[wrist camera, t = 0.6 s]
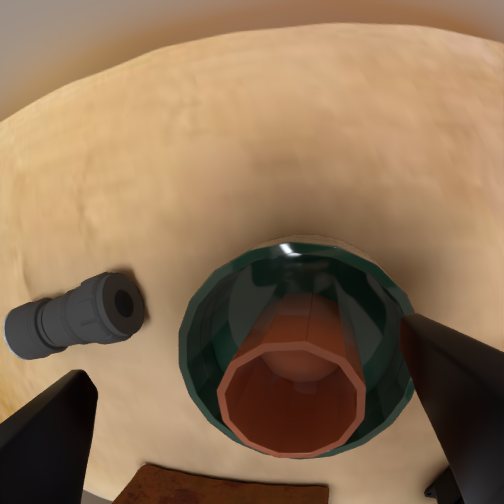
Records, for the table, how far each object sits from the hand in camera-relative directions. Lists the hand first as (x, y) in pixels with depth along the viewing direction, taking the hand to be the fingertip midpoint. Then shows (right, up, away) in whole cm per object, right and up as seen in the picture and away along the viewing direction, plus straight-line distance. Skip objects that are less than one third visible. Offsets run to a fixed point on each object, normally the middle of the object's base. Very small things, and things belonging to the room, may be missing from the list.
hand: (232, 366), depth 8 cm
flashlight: (-15, -3, +18) cm, 24 cm away
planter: (+4, -3, +14) cm, 15 cm away
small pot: (+4, -3, +13) cm, 14 cm away
